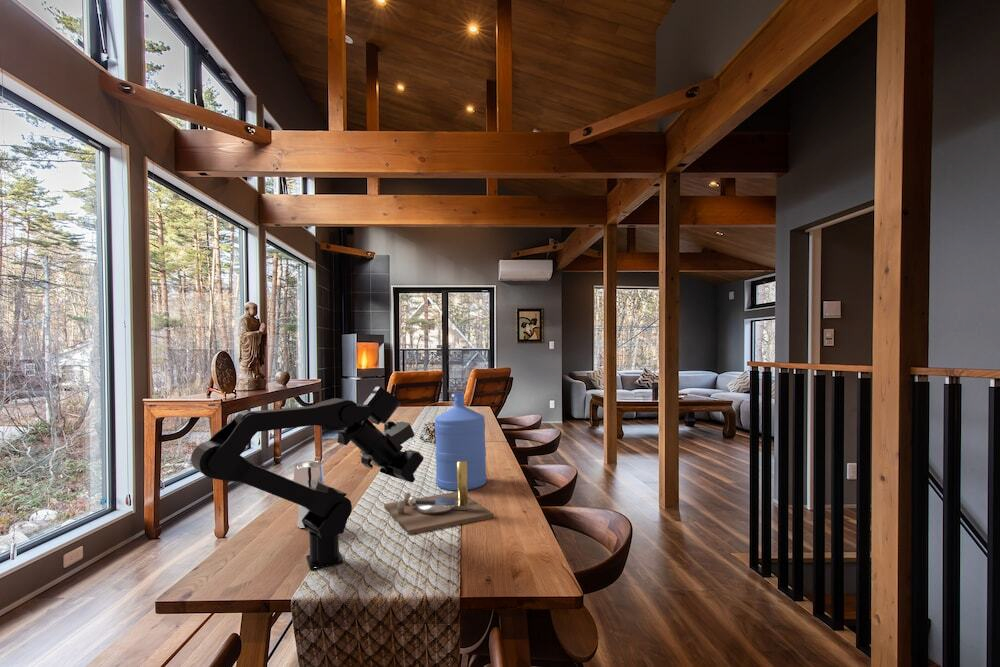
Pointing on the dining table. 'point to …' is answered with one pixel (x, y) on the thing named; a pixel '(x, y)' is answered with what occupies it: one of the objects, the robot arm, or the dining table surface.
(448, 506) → the dial
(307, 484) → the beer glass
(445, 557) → the dining table surface
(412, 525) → the walnut board
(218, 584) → the dining table surface
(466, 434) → the water jug
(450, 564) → the dining table surface
